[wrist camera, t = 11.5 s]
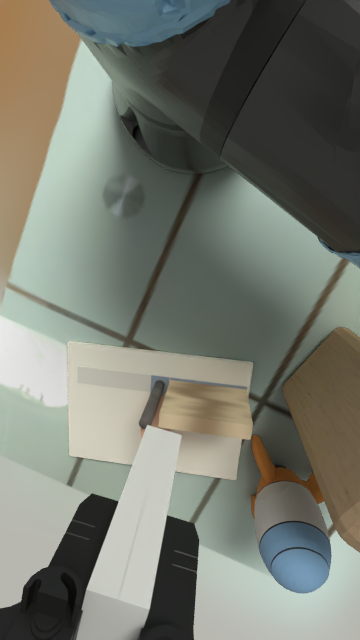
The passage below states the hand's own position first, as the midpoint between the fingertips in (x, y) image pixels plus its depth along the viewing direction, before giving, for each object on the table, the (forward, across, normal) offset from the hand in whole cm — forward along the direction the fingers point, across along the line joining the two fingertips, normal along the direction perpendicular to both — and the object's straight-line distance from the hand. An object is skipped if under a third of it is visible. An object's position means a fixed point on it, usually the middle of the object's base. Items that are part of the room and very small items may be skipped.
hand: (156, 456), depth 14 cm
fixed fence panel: (+24, +3, -9) cm, 26 cm away
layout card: (+24, -2, -14) cm, 28 cm away
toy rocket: (+25, +16, -16) cm, 34 cm away
